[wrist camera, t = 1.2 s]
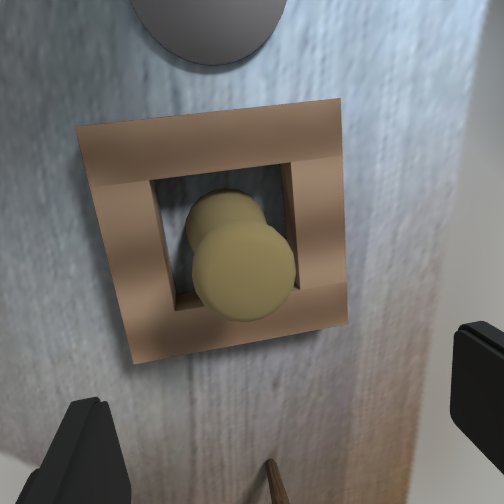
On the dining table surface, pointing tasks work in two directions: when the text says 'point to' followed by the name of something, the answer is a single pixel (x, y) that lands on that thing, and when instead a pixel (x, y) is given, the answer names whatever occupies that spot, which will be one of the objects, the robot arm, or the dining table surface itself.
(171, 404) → the dining table surface
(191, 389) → the dining table surface
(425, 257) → the dining table surface
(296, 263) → the square frame
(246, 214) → the cork
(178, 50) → the coaster
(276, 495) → the decorative torch
